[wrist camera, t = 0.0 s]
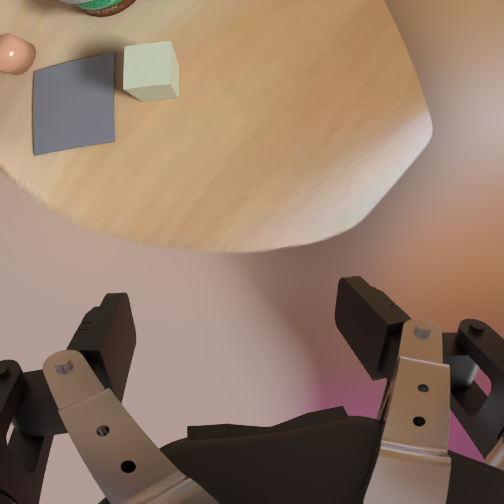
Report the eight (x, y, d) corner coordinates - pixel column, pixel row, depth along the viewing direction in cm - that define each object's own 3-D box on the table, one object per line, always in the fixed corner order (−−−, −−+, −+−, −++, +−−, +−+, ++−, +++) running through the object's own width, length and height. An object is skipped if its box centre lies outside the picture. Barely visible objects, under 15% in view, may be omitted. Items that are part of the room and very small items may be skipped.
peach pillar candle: (10, 48, 26) (-11, 40, 21) (37, 38, 27) (17, 28, 21) (7, 79, 28) (-16, 74, 22) (34, 69, 29) (12, 62, 23)
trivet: (36, 72, 29) (34, 71, 28) (115, 53, 30) (114, 52, 30) (36, 155, 33) (34, 155, 32) (114, 141, 35) (113, 142, 34)
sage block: (143, 68, 32) (124, 46, 23) (178, 65, 33) (171, 40, 23) (142, 101, 33) (123, 89, 24) (178, 98, 34) (170, 84, 25)
